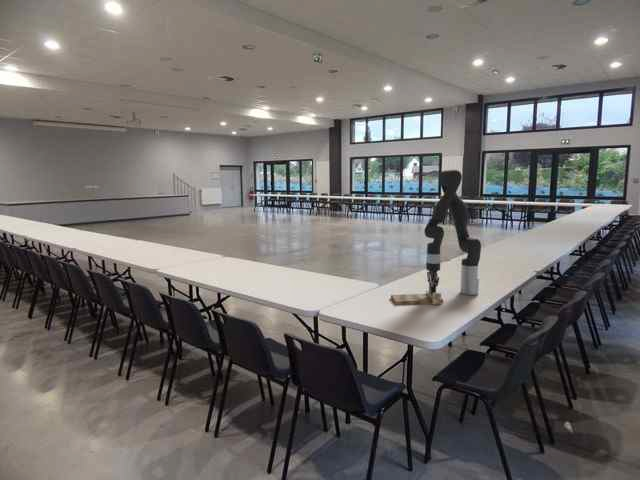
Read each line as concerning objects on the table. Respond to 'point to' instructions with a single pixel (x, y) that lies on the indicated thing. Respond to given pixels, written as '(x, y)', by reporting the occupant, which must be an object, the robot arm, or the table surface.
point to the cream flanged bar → (434, 295)
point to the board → (412, 299)
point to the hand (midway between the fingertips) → (432, 291)
